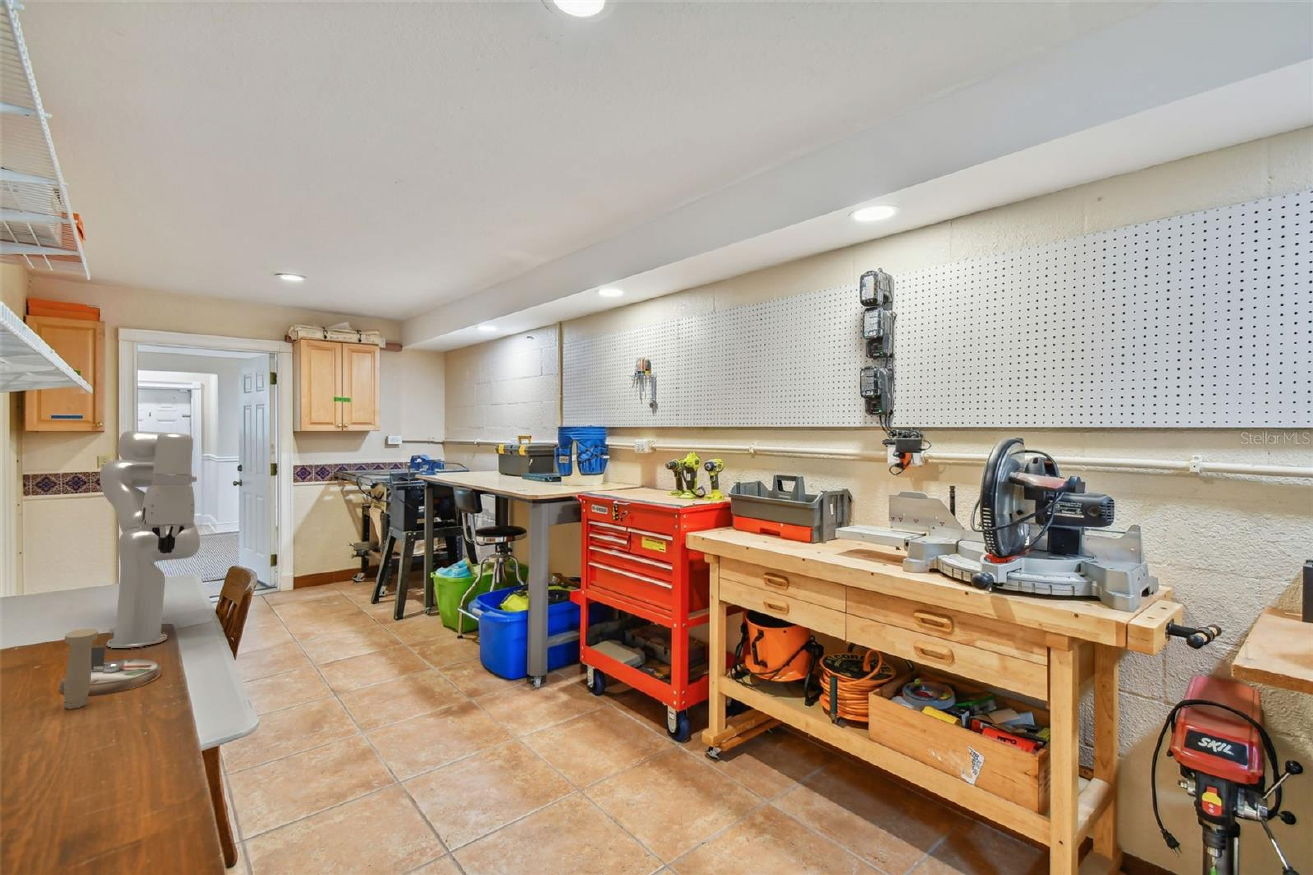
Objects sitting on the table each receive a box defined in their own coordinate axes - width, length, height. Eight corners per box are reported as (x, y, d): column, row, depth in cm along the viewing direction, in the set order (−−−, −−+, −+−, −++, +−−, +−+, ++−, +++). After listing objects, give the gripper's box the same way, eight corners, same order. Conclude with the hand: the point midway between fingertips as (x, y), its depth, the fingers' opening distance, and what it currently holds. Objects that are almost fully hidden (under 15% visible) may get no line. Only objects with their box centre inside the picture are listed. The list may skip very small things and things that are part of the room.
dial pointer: (154, 666, 138) (156, 643, 138) (145, 671, 135) (147, 648, 135) (81, 668, 135) (83, 645, 135) (70, 674, 131) (72, 650, 132)
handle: (55, 715, 117) (62, 638, 118) (62, 703, 122) (68, 630, 123) (89, 709, 120) (95, 635, 121) (94, 699, 125) (100, 627, 126)
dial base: (136, 693, 129) (137, 681, 129) (39, 698, 124) (40, 686, 124) (175, 666, 145) (176, 656, 145) (90, 670, 140) (91, 660, 141)
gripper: (200, 480, 160) (195, 548, 159) (129, 480, 148) (122, 553, 147) (211, 481, 156) (206, 551, 155) (139, 481, 144) (133, 557, 143)
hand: (165, 552), depth 151 cm, fingers closed
